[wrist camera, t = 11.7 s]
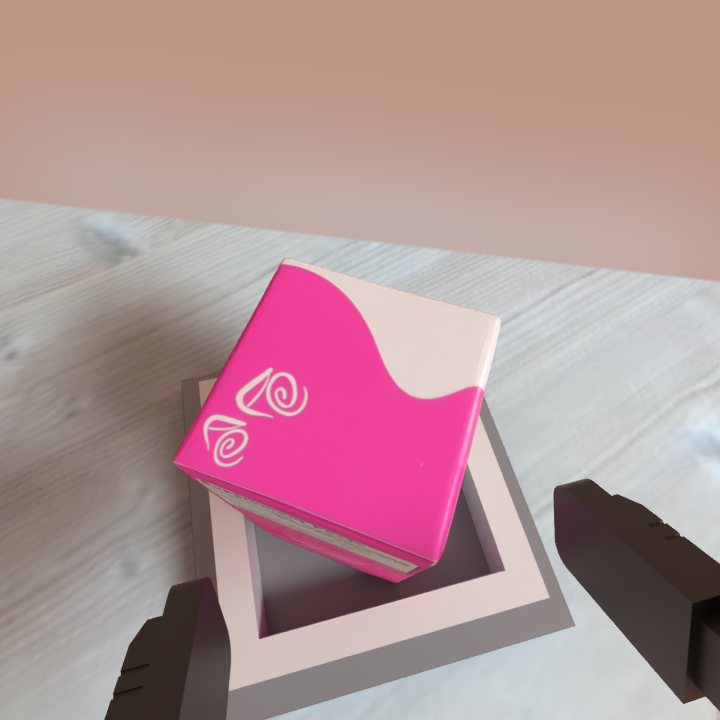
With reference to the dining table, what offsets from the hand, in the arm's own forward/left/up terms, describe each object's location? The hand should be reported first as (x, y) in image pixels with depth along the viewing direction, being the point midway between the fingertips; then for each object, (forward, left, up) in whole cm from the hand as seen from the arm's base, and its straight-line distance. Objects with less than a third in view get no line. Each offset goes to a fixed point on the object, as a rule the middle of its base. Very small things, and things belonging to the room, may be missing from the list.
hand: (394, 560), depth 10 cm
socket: (0, +4, -10) cm, 11 cm away
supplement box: (0, +3, -9) cm, 10 cm away
